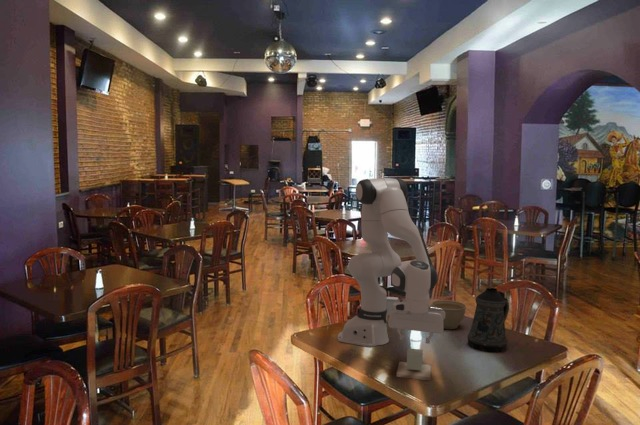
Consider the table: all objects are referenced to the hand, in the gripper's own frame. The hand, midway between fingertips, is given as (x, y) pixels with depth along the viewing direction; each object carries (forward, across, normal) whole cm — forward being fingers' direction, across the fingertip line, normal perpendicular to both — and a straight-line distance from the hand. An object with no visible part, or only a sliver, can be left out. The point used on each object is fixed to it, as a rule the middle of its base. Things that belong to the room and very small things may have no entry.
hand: (414, 341), depth 196 cm
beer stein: (+12, -30, -39) cm, 51 cm away
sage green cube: (+10, 0, +1) cm, 10 cm away
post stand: (+12, 0, +1) cm, 12 cm away
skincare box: (+13, +14, -60) cm, 63 cm away
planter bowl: (+13, -13, -61) cm, 64 cm away
